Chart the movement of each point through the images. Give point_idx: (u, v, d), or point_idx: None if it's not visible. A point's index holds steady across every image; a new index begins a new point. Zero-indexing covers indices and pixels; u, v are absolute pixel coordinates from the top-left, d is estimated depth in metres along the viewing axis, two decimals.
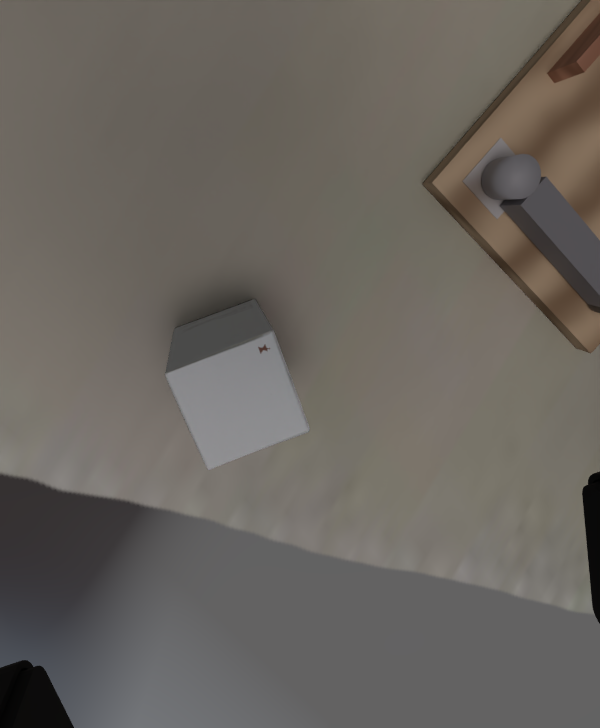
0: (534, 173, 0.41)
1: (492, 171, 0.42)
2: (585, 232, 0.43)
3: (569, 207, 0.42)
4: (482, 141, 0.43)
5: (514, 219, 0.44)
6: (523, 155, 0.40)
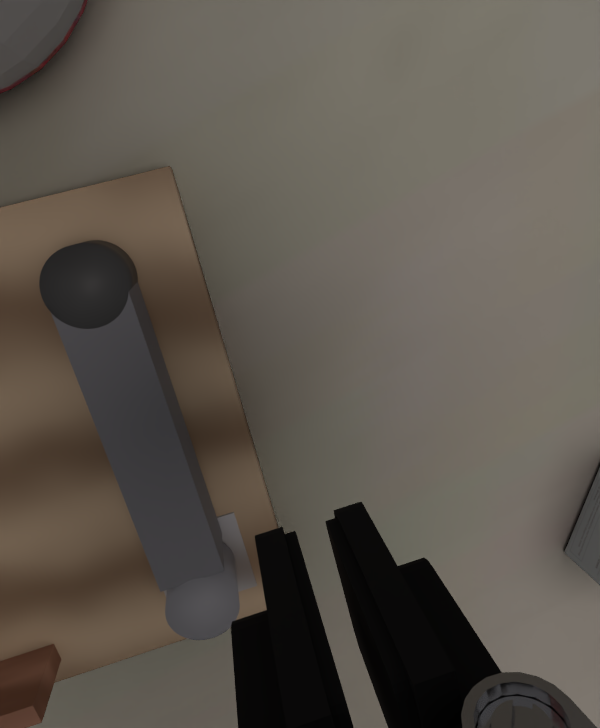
0: (178, 604, 0.23)
1: None
2: (126, 473, 0.21)
3: (139, 527, 0.22)
4: None
5: (212, 507, 0.25)
6: (184, 634, 0.24)
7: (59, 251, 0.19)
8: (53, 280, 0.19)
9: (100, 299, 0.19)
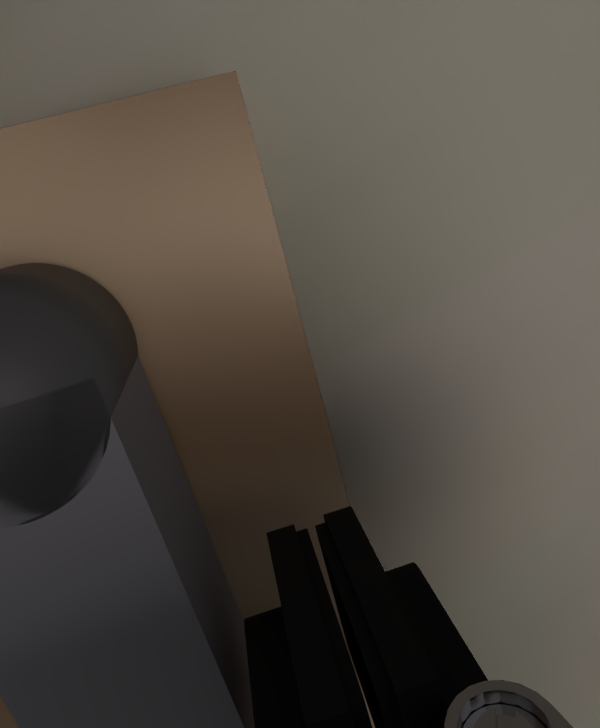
0: None
1: None
2: None
3: None
4: None
5: None
6: None
7: None
8: None
9: (27, 444, 0.06)
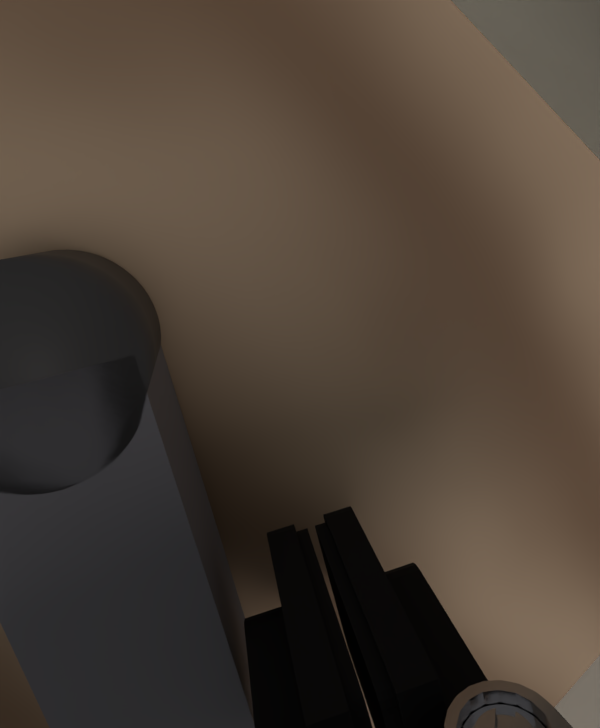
0: None
1: None
2: None
3: None
4: None
5: None
6: None
7: None
8: None
9: (67, 415, 0.07)
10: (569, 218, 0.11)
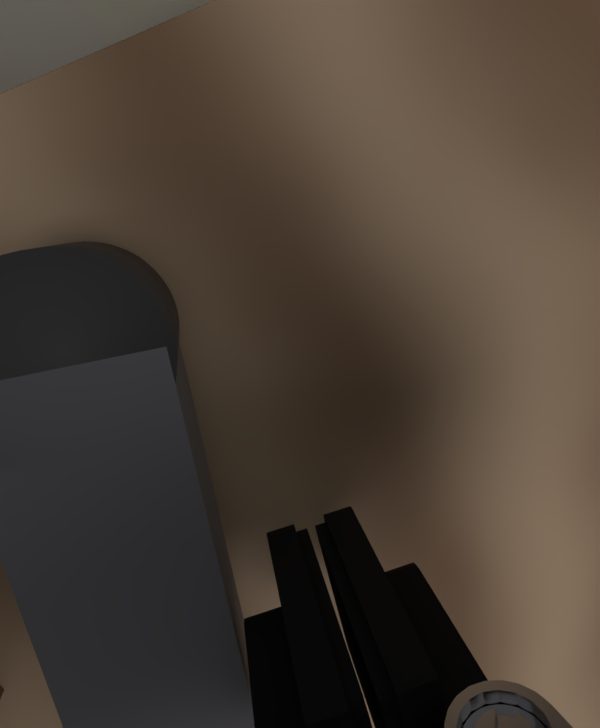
0: None
1: None
2: None
3: None
4: None
5: None
6: None
7: None
8: None
9: (97, 401, 0.07)
10: None
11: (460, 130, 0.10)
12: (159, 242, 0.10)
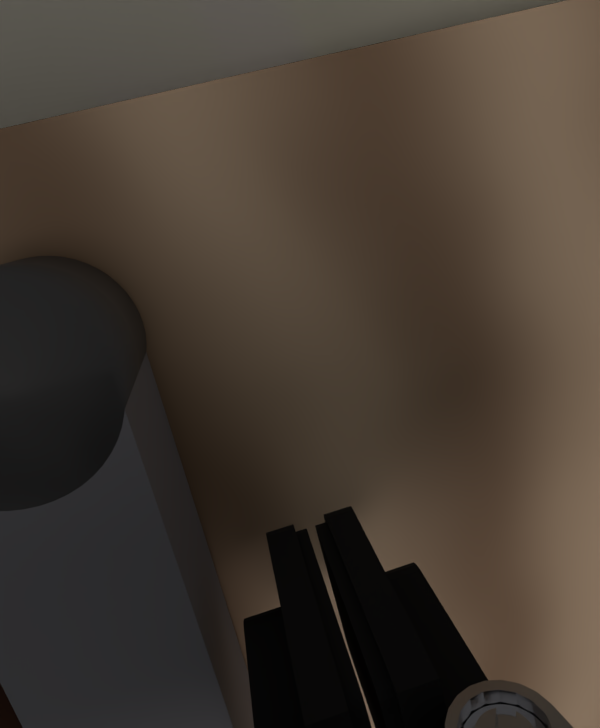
0: None
1: None
2: None
3: None
4: None
5: None
6: None
7: None
8: None
9: (42, 431, 0.07)
10: None
11: None
12: (329, 247, 0.10)
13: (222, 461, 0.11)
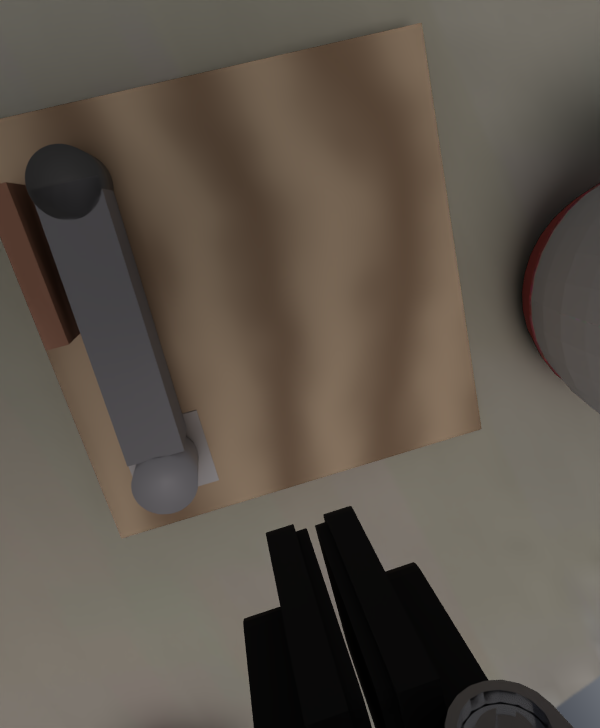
0: (143, 479, 0.26)
1: None
2: (98, 353, 0.24)
3: (109, 405, 0.25)
4: (106, 456, 0.29)
5: (177, 402, 0.28)
6: (148, 508, 0.27)
7: (42, 149, 0.22)
8: (37, 174, 0.22)
9: (77, 193, 0.23)
10: (440, 295, 0.30)
11: (310, 133, 0.27)
12: (185, 152, 0.26)
13: (145, 242, 0.27)
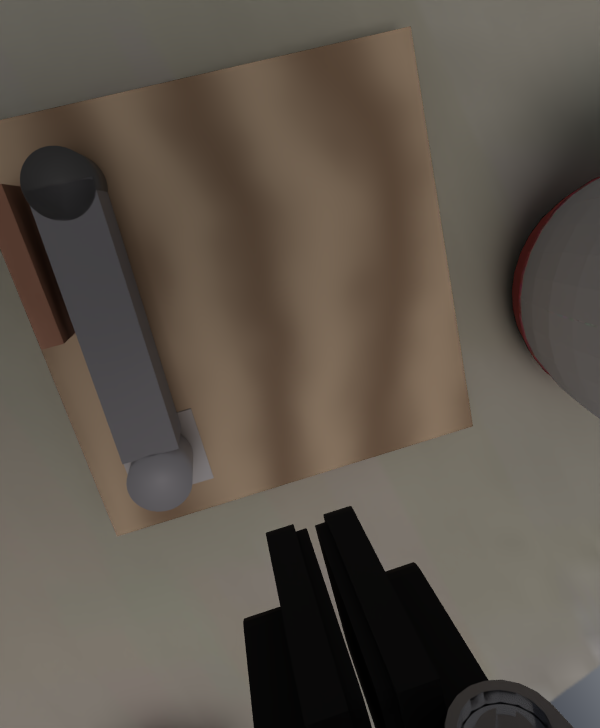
0: (138, 477, 0.27)
1: None
2: (93, 352, 0.25)
3: (104, 403, 0.25)
4: (102, 455, 0.30)
5: (172, 401, 0.29)
6: (143, 506, 0.27)
7: (37, 150, 0.22)
8: (32, 176, 0.22)
9: (72, 195, 0.23)
10: (431, 294, 0.30)
11: (302, 135, 0.27)
12: (178, 154, 0.26)
13: (140, 243, 0.27)
